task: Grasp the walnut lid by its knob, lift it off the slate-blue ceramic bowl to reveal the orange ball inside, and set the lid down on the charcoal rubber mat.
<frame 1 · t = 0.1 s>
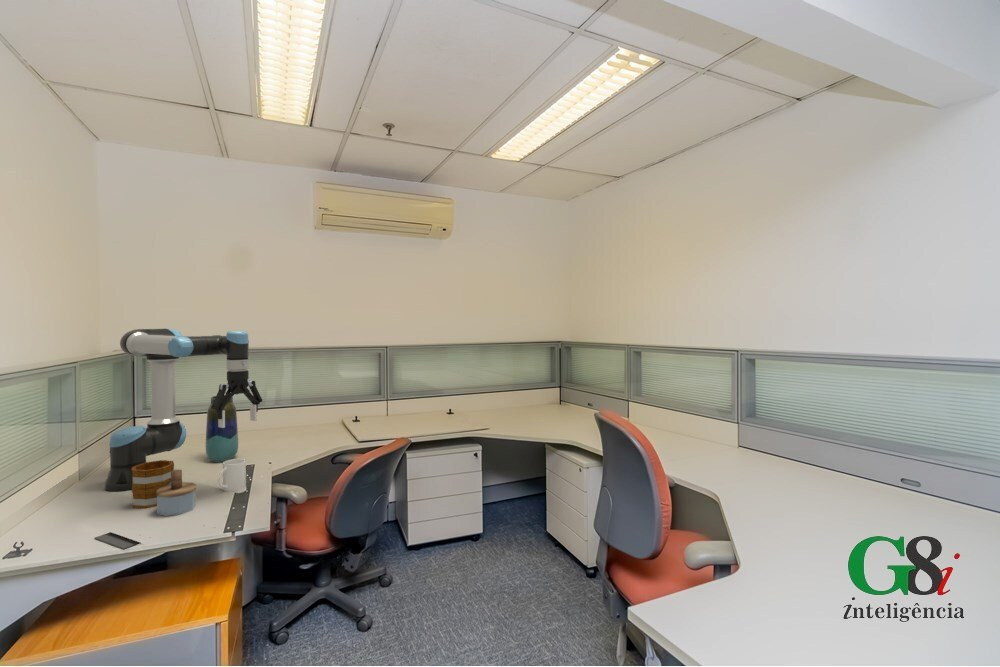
hand: (238, 423, 186), 28 cm above the table, fingers open, 13 cm apart
mat: (134, 534, 151), on the table
bowl: (176, 513, 167), on the table
mug 2: (157, 503, 177), on the table
ball: (176, 509, 167), point 1 cm above the table, touching bowl
mug: (230, 492, 188), on the table
lid: (176, 491, 167), point 8 cm above the table, touching bowl
vase: (222, 460, 231), on the table
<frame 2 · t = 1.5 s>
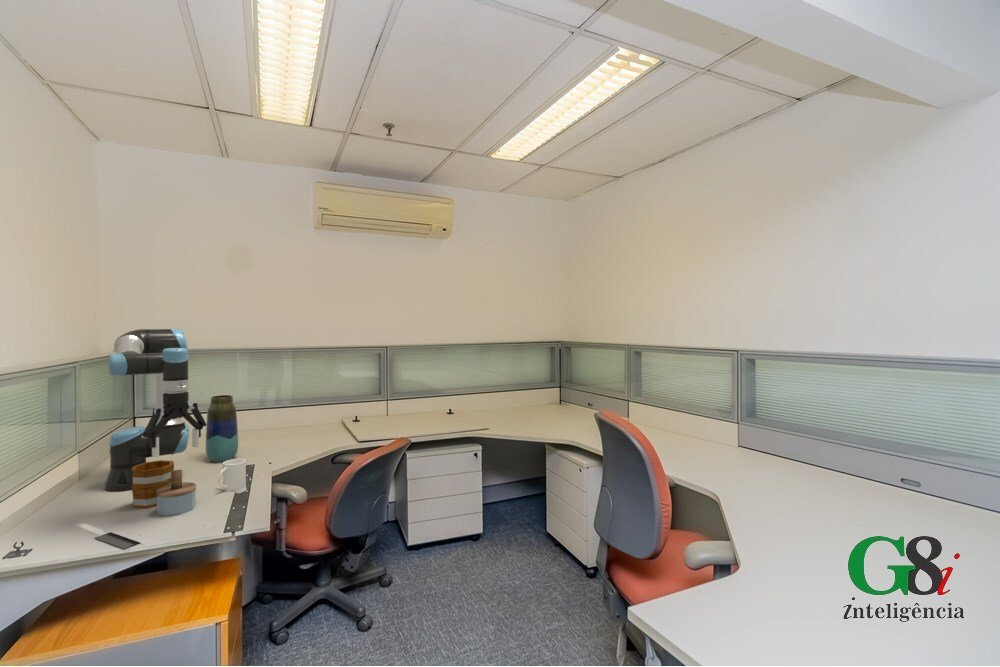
hand: (176, 451, 167), 22 cm above the table, fingers open, 13 cm apart
nothing on the table moved.
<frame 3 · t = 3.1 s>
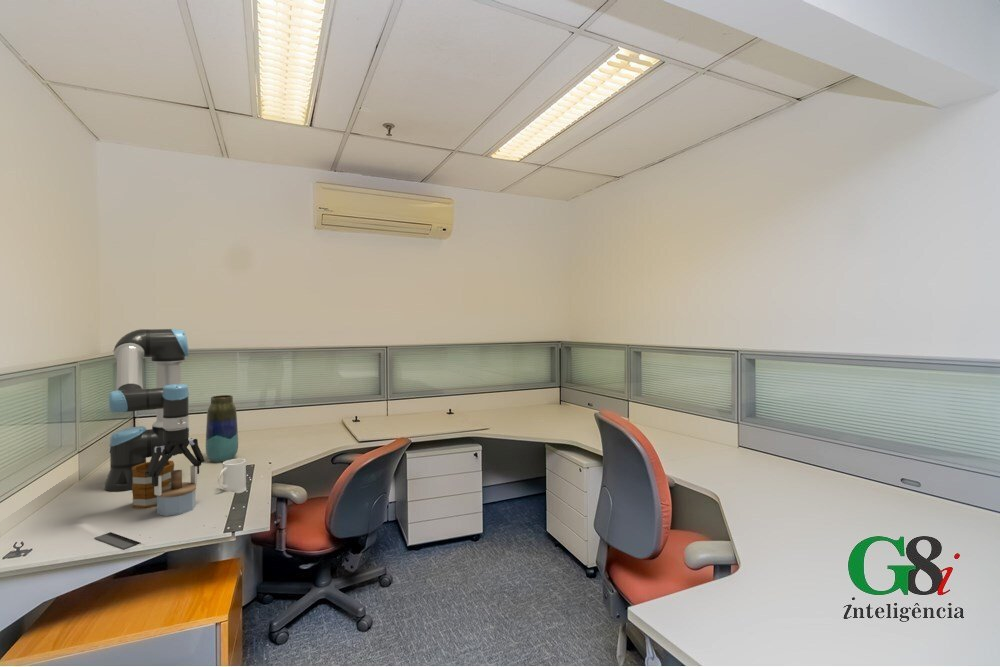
hand: (176, 489, 167), 9 cm above the table, fingers closed on lid, 11 cm apart
lid: (176, 491, 167), point 8 cm above the table, touching bowl, gripper
everything else where it was.
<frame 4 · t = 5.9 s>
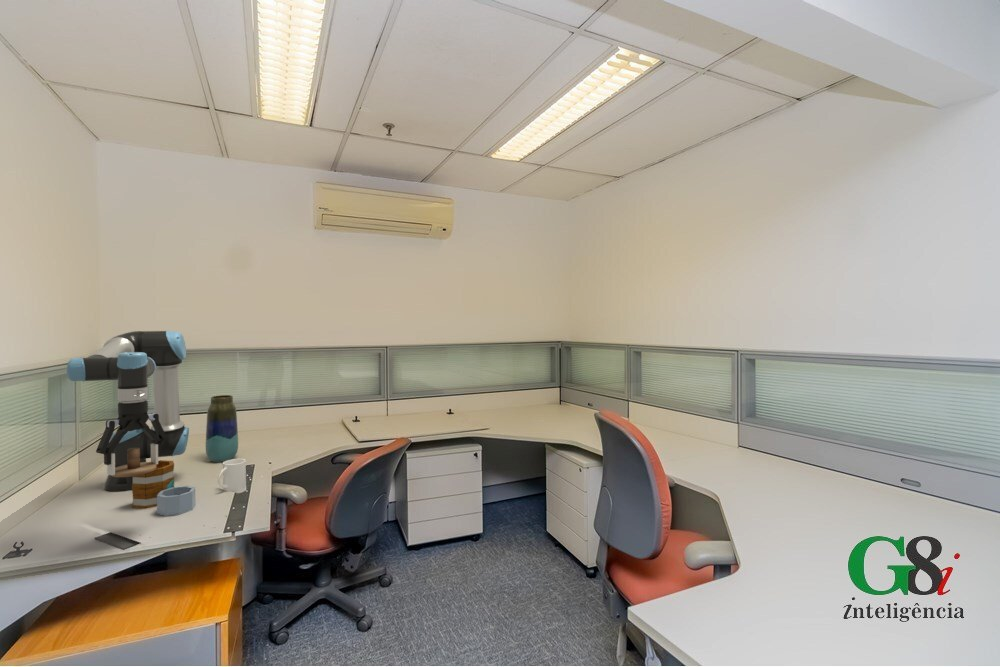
hand: (133, 469, 150), 21 cm above the table, fingers closed on lid, 11 cm apart
lid: (133, 471, 150), point 21 cm above the table, touching gripper
everything else where it was.
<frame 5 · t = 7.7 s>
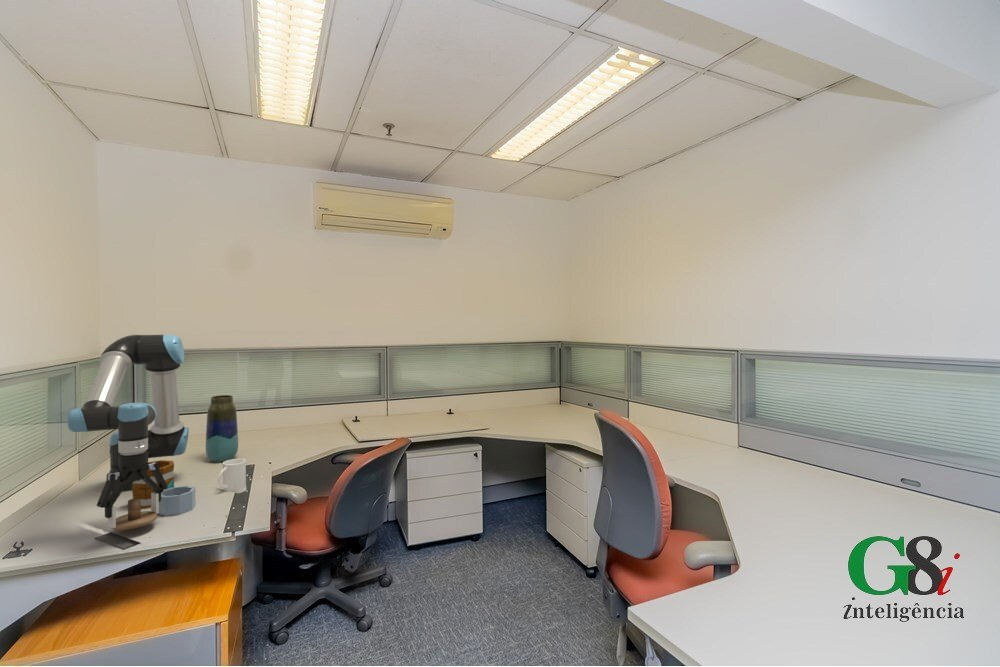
hand: (134, 519, 150), 5 cm above the table, fingers closed on lid, 11 cm apart
lid: (134, 522, 150), point 4 cm above the table, touching gripper
everything else where it was.
when the fingers open (3 cm above the table, at t = 9.0 s): lid drops 2 cm, resting on mat.
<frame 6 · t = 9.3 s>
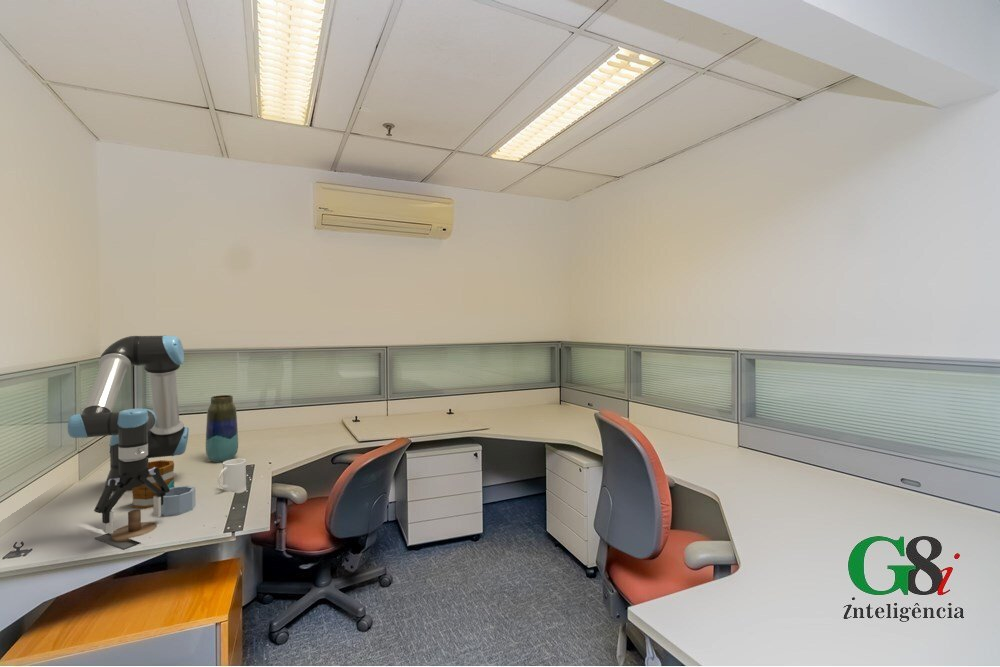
hand: (134, 524, 151), 3 cm above the table, fingers open, 13 cm apart
lid: (134, 533, 151), resting on mat
everything else where it was.
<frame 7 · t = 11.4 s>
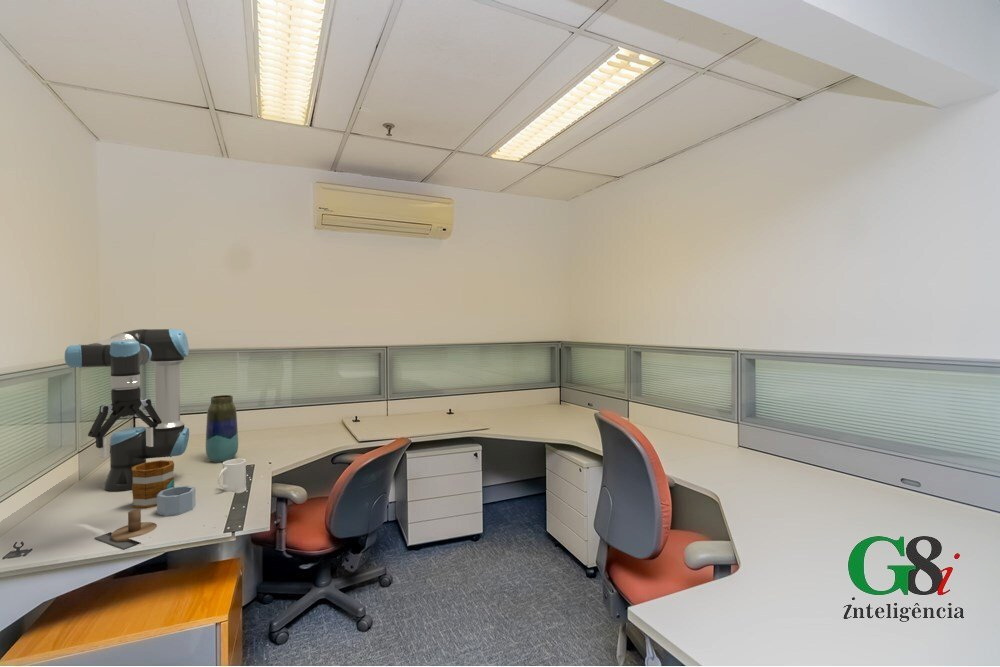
hand: (127, 451, 155), 25 cm above the table, fingers open, 13 cm apart
nothing on the table moved.
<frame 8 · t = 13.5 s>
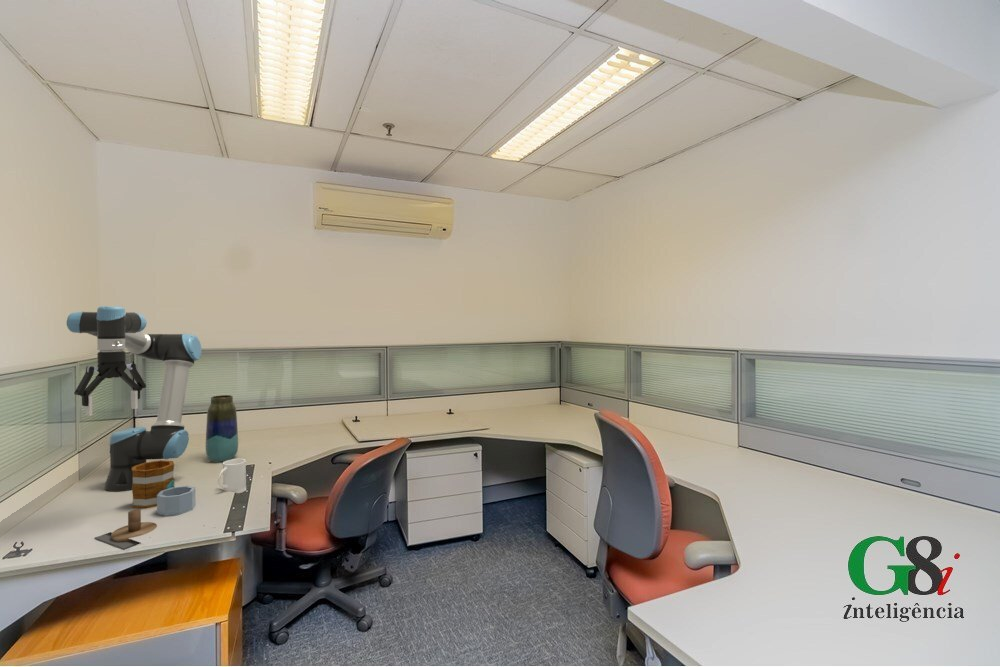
hand: (112, 412, 163), 37 cm above the table, fingers open, 13 cm apart
nothing on the table moved.
at the end: lid inside the target area on the mat (0.0 cm from its centre), point 0.4 cm above the mat's base; lid touching mat; lid tilted 0° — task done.
